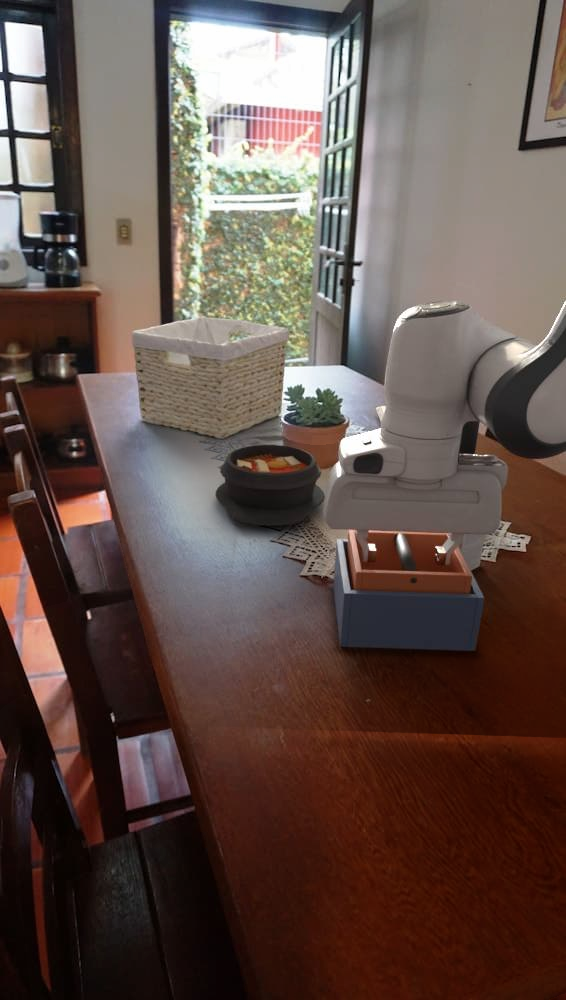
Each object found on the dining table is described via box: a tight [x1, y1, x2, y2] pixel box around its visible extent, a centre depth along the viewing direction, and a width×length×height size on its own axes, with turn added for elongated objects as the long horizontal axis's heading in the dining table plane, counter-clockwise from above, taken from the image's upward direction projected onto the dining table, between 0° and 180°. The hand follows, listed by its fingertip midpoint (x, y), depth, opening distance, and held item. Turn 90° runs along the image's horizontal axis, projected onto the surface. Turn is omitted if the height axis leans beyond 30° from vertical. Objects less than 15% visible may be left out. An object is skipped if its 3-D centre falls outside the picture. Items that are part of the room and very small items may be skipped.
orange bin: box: [346, 530, 473, 594], centre depth 83 cm, size 13×11×9 cm
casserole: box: [215, 444, 325, 527], centre depth 115 cm, size 25×19×8 cm
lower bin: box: [332, 538, 485, 652], centre depth 83 cm, size 16×14×8 cm
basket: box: [131, 315, 290, 440], centre depth 158 cm, size 27×27×22 cm
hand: (404, 561), depth 82 cm, fingers open, 7 cm apart
